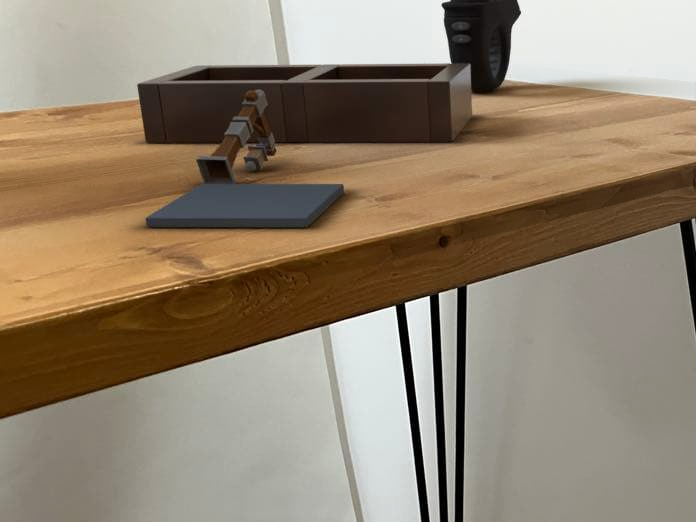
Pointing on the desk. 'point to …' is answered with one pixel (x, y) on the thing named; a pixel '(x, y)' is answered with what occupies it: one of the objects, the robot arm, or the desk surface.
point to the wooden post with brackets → (240, 143)
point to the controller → (481, 38)
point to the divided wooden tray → (311, 102)
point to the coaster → (248, 206)
